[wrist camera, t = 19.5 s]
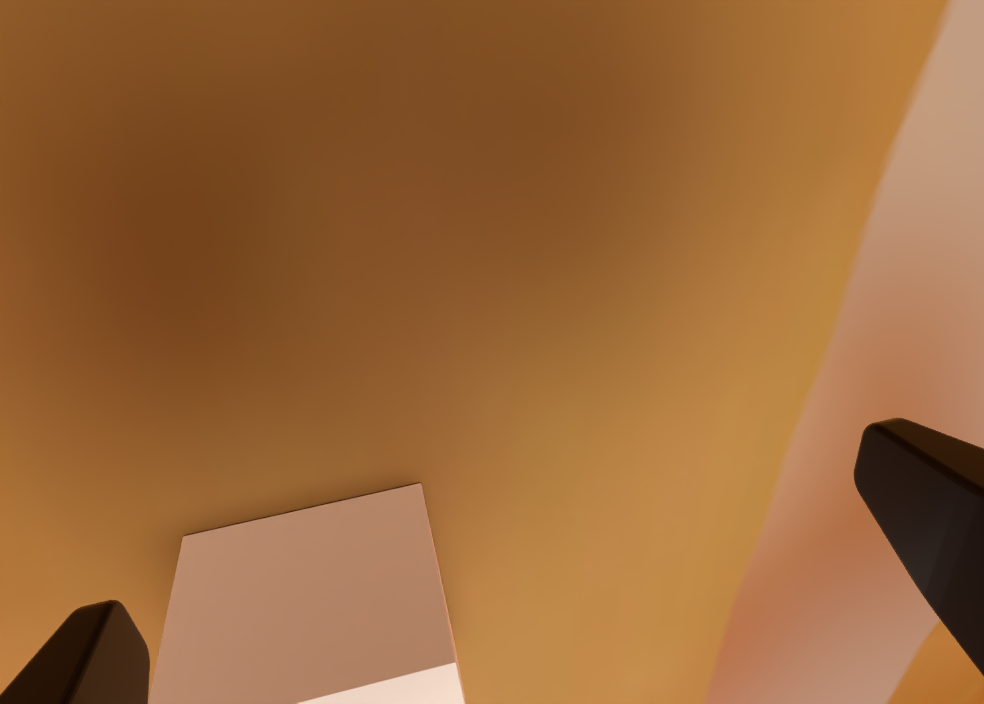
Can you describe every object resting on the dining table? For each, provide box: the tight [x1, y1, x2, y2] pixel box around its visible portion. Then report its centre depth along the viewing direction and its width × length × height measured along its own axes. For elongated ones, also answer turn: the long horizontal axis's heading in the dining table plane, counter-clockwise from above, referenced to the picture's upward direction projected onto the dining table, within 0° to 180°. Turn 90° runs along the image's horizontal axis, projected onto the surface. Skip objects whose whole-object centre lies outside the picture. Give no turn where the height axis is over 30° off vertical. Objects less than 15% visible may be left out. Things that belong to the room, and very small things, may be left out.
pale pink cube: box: [148, 483, 466, 704], centre depth 22 cm, size 8×8×7 cm
